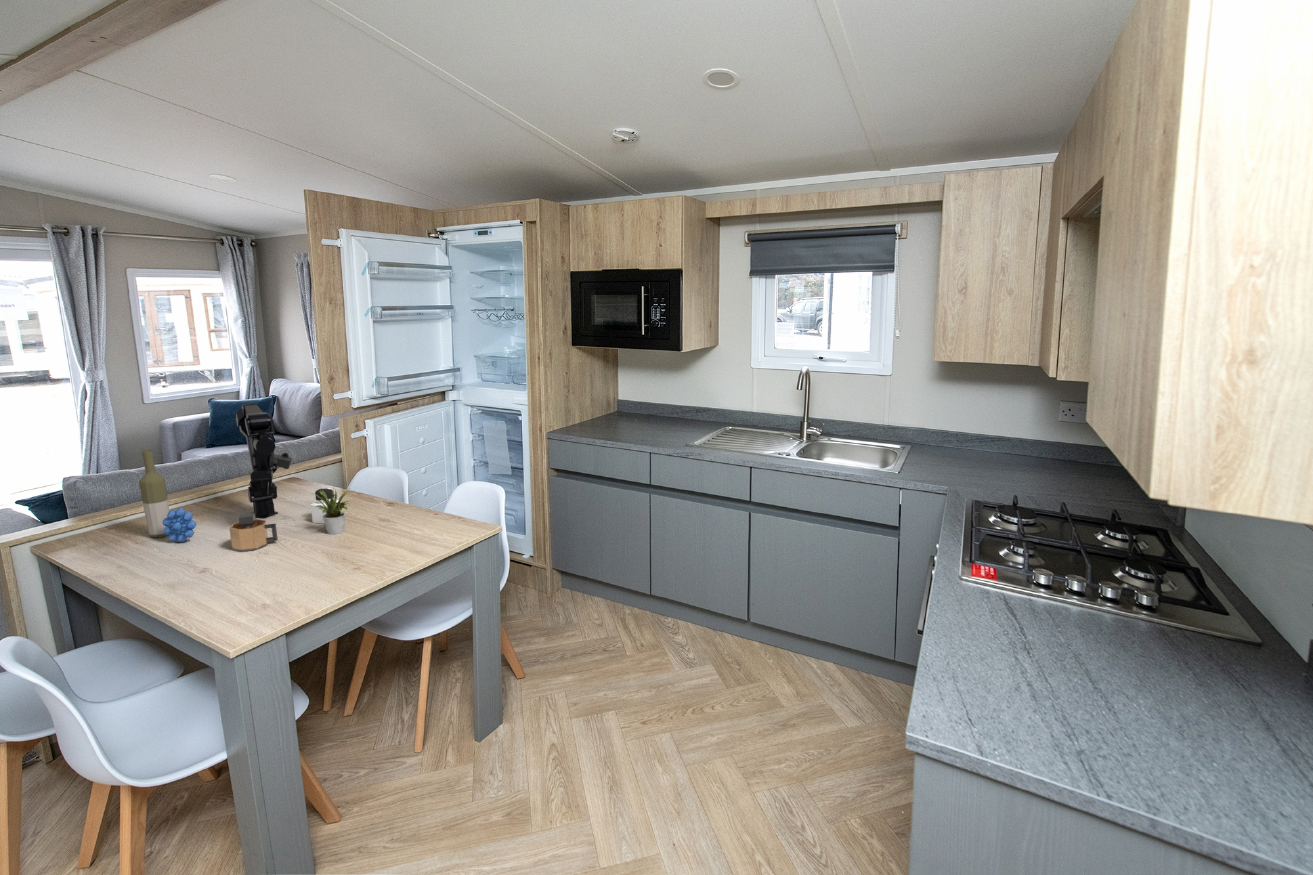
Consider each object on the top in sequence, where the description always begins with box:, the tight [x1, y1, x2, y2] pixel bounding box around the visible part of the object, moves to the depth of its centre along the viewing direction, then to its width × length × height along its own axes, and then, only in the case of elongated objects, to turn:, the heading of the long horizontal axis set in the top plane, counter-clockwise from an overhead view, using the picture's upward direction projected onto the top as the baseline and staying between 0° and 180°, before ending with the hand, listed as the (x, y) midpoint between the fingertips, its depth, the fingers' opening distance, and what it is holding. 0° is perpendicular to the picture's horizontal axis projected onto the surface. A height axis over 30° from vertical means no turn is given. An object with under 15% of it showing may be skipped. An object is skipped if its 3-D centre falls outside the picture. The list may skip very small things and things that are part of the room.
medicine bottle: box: [310, 487, 342, 525], centre depth 237 cm, size 7×7×12 cm
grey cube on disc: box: [238, 512, 257, 528], centre depth 212 cm, size 7×7×8 cm
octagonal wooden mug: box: [229, 518, 279, 553], centre depth 213 cm, size 10×13×8 cm
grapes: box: [162, 507, 197, 544], centre depth 216 cm, size 12×7×12 cm, turn 85°
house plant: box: [311, 487, 351, 535], centre depth 224 cm, size 14×14×16 cm
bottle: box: [138, 449, 170, 538], centre depth 219 cm, size 7×7×30 cm
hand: (267, 492), depth 227 cm, fingers open, 9 cm apart
